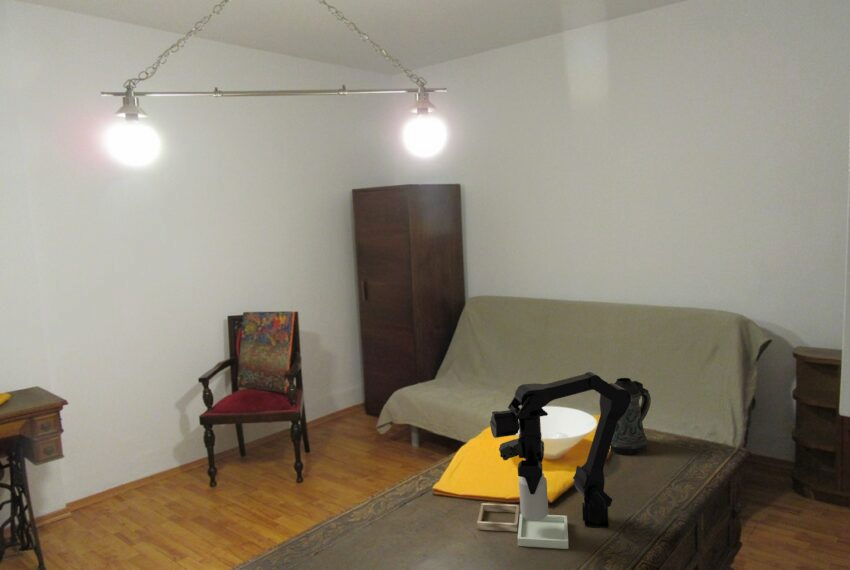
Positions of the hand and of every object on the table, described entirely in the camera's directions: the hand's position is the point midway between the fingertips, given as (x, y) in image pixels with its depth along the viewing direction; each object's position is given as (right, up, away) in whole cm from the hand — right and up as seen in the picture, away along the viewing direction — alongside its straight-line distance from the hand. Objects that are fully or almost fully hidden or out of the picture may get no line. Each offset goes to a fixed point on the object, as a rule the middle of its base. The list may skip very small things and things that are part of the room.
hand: (533, 487), depth 161 cm
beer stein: (+43, -4, +55) cm, 70 cm away
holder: (-8, -12, +8) cm, 17 cm away
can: (+1, -8, +1) cm, 8 cm away
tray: (+3, -13, 0) cm, 13 cm away
